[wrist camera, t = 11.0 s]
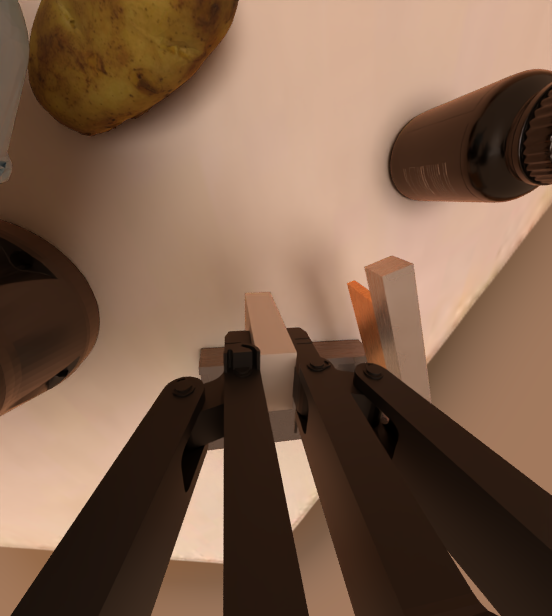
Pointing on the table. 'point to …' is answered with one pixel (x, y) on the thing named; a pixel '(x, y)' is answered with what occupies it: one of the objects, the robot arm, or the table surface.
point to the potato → (118, 55)
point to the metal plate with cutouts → (282, 421)
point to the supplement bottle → (480, 144)
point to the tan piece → (392, 321)
